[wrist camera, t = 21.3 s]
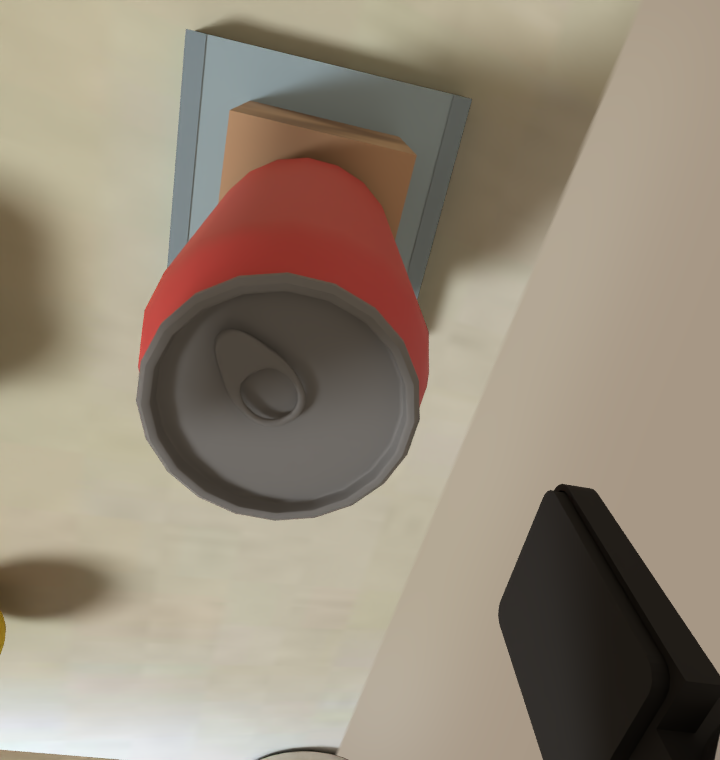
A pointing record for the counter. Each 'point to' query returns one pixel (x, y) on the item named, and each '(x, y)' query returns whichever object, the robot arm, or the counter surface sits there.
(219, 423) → the beer can
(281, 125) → the wooden block
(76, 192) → the counter surface
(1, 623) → the lemon
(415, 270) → the plate
